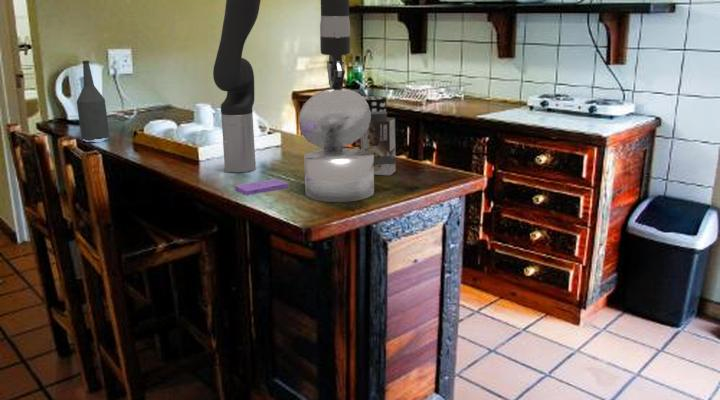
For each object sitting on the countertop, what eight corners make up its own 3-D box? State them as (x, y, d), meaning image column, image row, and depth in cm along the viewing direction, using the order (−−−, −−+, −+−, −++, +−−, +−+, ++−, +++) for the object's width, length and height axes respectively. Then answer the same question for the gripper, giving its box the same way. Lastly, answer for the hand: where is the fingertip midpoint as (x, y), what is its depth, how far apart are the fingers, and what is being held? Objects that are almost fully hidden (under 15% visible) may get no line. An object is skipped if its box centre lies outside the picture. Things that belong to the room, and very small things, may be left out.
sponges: (288, 189, 169) (288, 183, 169) (245, 197, 163) (245, 190, 162) (277, 184, 175) (276, 178, 174) (235, 191, 168) (234, 184, 168)
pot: (310, 204, 154) (308, 164, 151) (301, 185, 171) (300, 150, 168) (403, 197, 159) (404, 159, 156) (386, 180, 176) (386, 145, 173)
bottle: (76, 141, 237) (65, 61, 229) (98, 137, 245) (88, 59, 237) (93, 144, 232) (82, 61, 223) (115, 139, 240) (106, 60, 231)
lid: (300, 92, 155) (298, 84, 157) (298, 152, 169) (297, 144, 171) (391, 89, 159) (388, 81, 162) (382, 147, 173) (380, 140, 175)
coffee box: (396, 171, 186) (396, 117, 182) (390, 176, 181) (390, 120, 176) (367, 169, 189) (367, 116, 185) (360, 173, 183) (359, 119, 179)
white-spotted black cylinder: (359, 158, 204) (358, 96, 198) (384, 157, 205) (384, 96, 199) (361, 163, 196) (360, 100, 190) (387, 163, 197) (387, 99, 191)
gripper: (316, 33, 162) (317, 100, 167) (324, 36, 150) (325, 108, 155) (344, 33, 163) (345, 99, 169) (355, 36, 151) (355, 107, 157)
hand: (335, 103), depth 162 cm, fingers closed
